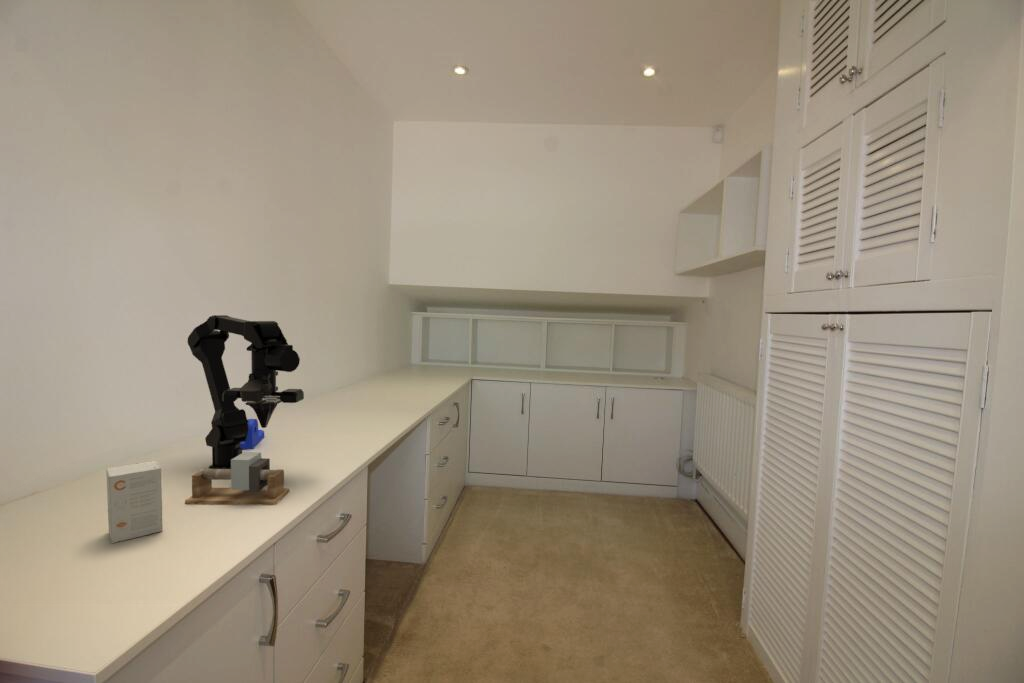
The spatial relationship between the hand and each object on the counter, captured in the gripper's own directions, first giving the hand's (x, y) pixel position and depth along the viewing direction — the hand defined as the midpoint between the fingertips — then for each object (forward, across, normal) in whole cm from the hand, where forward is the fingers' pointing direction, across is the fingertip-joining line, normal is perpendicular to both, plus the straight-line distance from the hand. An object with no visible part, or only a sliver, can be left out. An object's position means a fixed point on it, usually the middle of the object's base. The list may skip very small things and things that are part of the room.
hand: (264, 427), depth 129 cm
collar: (+11, +6, -15) cm, 19 cm away
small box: (+13, -10, -33) cm, 37 cm away
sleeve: (+10, +3, -15) cm, 18 cm away
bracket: (+13, -20, +32) cm, 40 cm away
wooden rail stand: (+13, +1, -15) cm, 20 cm away
